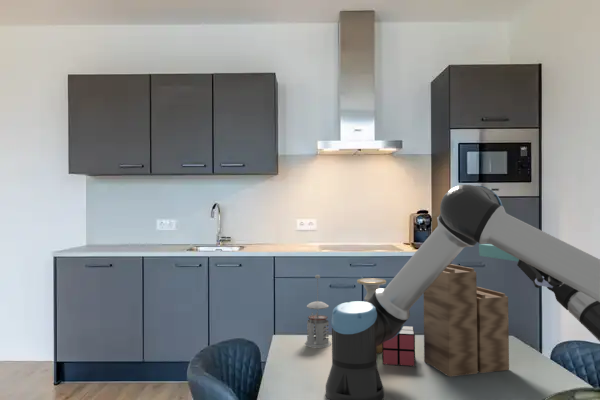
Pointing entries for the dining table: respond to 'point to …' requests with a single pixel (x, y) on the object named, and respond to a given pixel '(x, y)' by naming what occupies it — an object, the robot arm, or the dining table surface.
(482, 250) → the bar
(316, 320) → the french press
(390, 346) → the puzzle cube
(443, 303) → the brown boxy piece
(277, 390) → the dining table surface
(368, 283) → the candle holder
